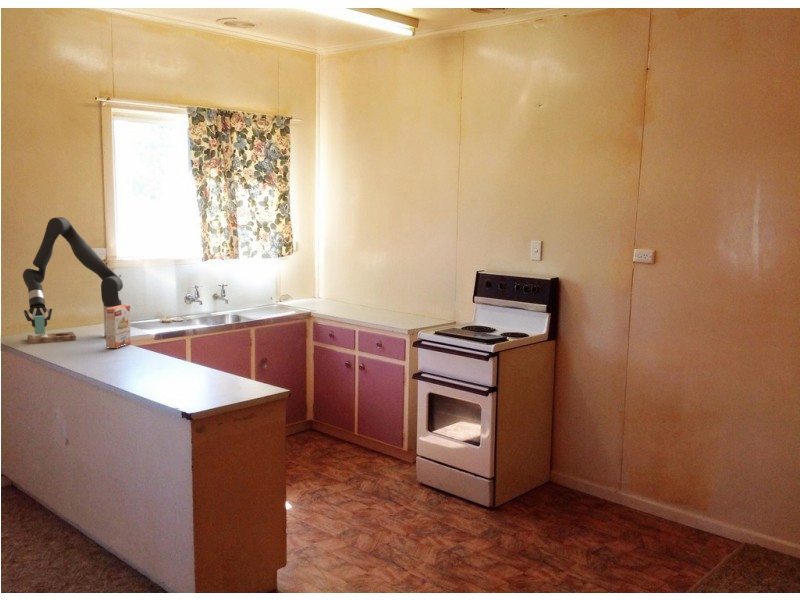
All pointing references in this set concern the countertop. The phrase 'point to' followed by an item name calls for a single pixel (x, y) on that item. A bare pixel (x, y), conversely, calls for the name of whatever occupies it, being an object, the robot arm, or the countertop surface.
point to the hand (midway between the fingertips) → (39, 326)
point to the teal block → (39, 324)
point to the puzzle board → (51, 337)
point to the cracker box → (117, 326)
